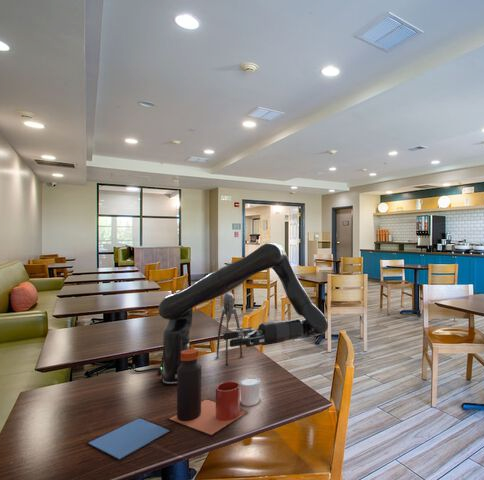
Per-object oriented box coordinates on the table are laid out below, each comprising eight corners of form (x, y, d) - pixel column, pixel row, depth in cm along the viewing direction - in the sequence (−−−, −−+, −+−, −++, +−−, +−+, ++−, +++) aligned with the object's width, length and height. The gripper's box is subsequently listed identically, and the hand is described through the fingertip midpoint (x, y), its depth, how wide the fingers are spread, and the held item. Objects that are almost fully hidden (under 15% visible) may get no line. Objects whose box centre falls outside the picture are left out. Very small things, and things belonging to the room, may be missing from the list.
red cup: (210, 417, 106) (210, 388, 106) (227, 407, 112) (228, 379, 112) (227, 423, 103) (227, 393, 102) (244, 412, 109) (244, 384, 109)
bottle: (205, 413, 108) (206, 350, 108) (186, 424, 102) (187, 356, 102) (191, 408, 111) (191, 346, 111) (172, 417, 105) (172, 352, 105)
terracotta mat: (168, 419, 105) (168, 418, 105) (206, 400, 117) (206, 399, 117) (211, 435, 97) (211, 434, 97) (246, 413, 109) (246, 412, 109)
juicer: (242, 356, 159) (242, 291, 158) (226, 365, 148) (227, 295, 148) (224, 354, 162) (225, 290, 162) (208, 362, 152) (208, 294, 151)
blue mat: (88, 443, 92) (88, 442, 92) (139, 419, 105) (139, 418, 105) (119, 459, 86) (119, 458, 86) (170, 431, 98) (170, 430, 98)
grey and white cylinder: (254, 408, 112) (255, 386, 112) (235, 405, 114) (235, 384, 113) (263, 398, 119) (264, 378, 119) (245, 396, 120) (245, 376, 120)
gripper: (267, 317, 127) (221, 323, 118) (281, 326, 115) (232, 333, 106) (267, 338, 127) (221, 345, 118) (281, 348, 115) (232, 358, 106)
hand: (226, 339), depth 112 cm, fingers open, 8 cm apart
